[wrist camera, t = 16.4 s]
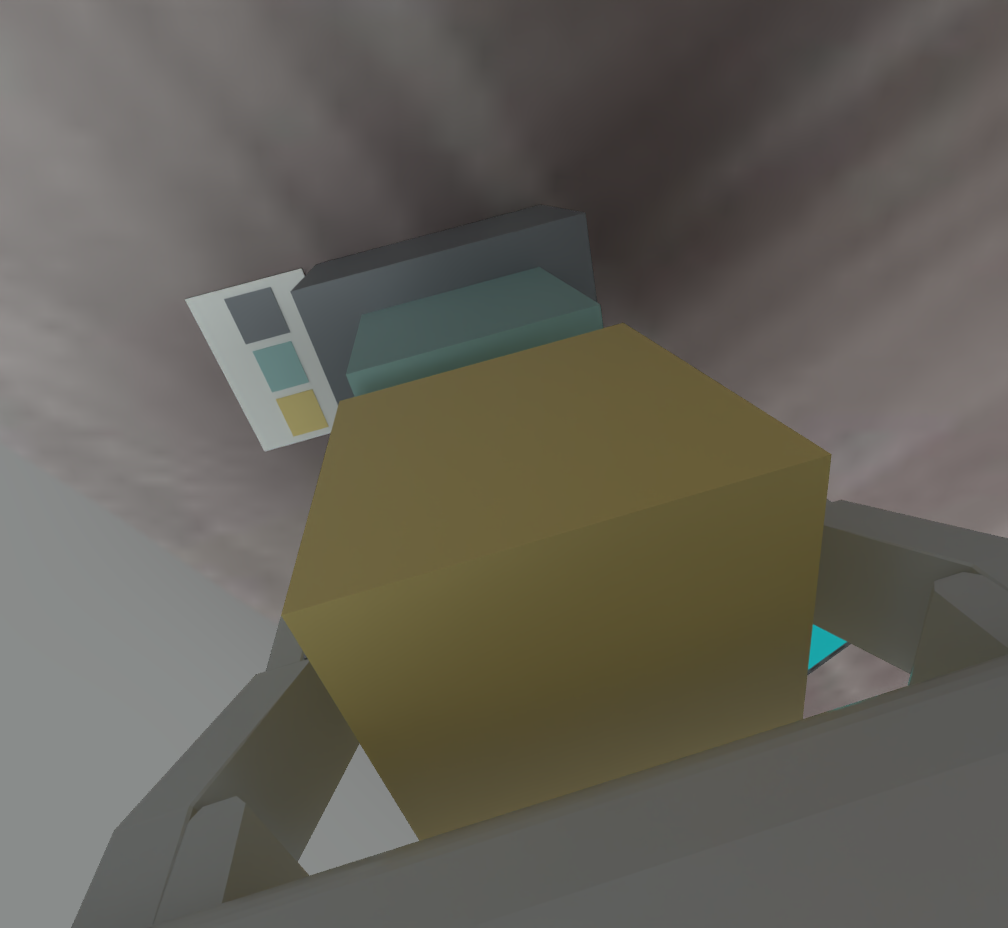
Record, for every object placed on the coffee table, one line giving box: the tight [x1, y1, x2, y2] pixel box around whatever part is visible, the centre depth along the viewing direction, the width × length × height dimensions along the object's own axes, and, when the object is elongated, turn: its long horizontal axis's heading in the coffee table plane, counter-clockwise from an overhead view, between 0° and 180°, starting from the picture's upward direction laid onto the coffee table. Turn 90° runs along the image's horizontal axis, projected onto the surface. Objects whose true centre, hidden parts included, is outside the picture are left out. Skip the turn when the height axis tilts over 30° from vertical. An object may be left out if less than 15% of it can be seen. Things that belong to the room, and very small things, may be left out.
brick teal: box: [346, 267, 603, 397], centre depth 14 cm, size 6×5×5 cm
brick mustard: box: [281, 323, 831, 841], centre depth 8 cm, size 6×5×5 cm
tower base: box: [290, 205, 597, 405], centre depth 18 cm, size 8×8×5 cm
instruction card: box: [185, 268, 338, 452], centre depth 19 cm, size 6×4×1 cm, turn 13°
